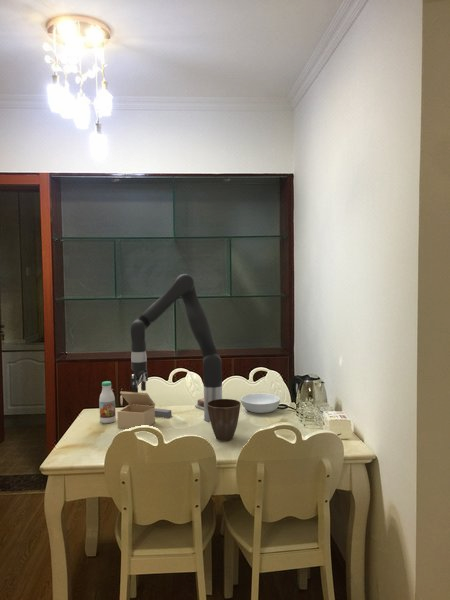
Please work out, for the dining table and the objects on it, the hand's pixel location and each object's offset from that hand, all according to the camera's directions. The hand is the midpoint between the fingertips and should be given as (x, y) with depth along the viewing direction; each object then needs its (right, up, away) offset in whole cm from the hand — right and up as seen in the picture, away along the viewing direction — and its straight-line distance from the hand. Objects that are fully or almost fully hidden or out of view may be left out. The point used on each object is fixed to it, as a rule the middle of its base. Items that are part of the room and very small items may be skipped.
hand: (139, 392), depth 240 cm
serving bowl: (+61, -13, +17) cm, 65 cm away
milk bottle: (-17, -15, +3) cm, 23 cm away
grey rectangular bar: (+7, -15, +11) cm, 20 cm away
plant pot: (+42, -16, -24) cm, 51 cm away
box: (-1, -15, -3) cm, 16 cm away
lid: (-1, -3, -3) cm, 4 cm away
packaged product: (+35, -14, +22) cm, 43 cm away
